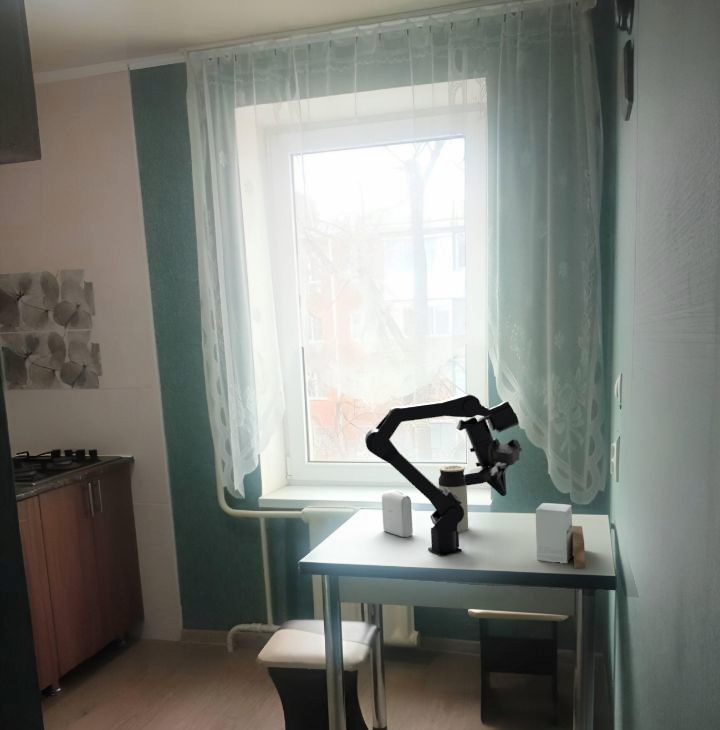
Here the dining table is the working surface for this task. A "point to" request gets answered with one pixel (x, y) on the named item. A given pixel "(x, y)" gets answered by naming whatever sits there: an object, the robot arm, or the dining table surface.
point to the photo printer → (397, 513)
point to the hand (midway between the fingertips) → (504, 495)
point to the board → (578, 547)
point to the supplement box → (554, 532)
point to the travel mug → (455, 489)
